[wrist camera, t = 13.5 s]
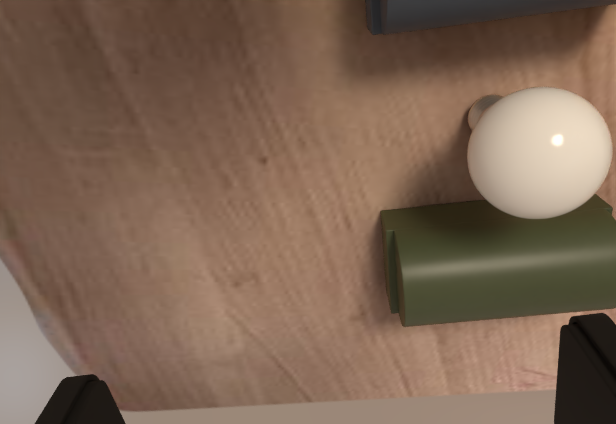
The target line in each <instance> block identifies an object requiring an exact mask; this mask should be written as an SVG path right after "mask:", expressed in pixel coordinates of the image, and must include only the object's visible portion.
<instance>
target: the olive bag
mask: <svg viewBox="0 0 616 424" xmlns="http://www.w3.org/2000/svg"><path fill="white" fill-rule="evenodd" d="M612 209H613V208H612V207H611V206H610V205H609V204H608V203H606V202H605V201H604V200H603V199H601V198H600V197H599V196H597V195H596V194H594V195H593V196H592V197H591V198H590V199H589V200H588V201H587V202H586V203H584V204H583V205H581V206H580V207H578V208H577V209H575V210H573V211H571V212H569V213H566V214H564V215H561V216H557V217H553V218H548V219H525V218H519V217H515V216H512V215H509V214H507V213H505V212H503V211H501V210H499V209H497V208H496V207H494V206H493V205H491V204H490V203H489V202H488V201H487V200H479V201H469V202H460V203H450V204H441V205H431V206H422V207H412V208H403V209H393V210H384V211H381V225H382V239H383V253H384V266H385V280H386V291H387V296H388V300H389V305H390V310H391V313H399V317H400V321H401V324H402V326H403V327H409V326H421V325H432V324H443V323H455V322H466V321H478V320H489V319H501V318H512V317H524V316H535V315H546V314H558V313H569V312H581V311H592V310H604V309H613V308H616V220H615V219H614V218H613V216H612Z"/></svg>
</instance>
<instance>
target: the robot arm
mask: <svg viewBox="0 0 616 424" xmlns="http://www.w3.org/2000/svg"><path fill="white" fill-rule="evenodd" d="M35 424H125V422H124V419H123V417H122V415H121V413H120V411H119V409H118V407H117V405H116V403H115V401H114V399H113V397H112V395H111V392H110V390H109V388H108V386H107V384H106V383H105V382H104V381H103V380H99V379H98V377H97V376H95V375H94V374H90V375H82V376H74V377H66V378H65V379H63V380H62V381H61V383H60V384H59V386H58V387H57V389H56V390H55V392H54V393H53V395H52V397H51V398H50V400H49V401H48V403H47V405H46V407H45V408H44V410H43V411H42V413H41V414H40V416H39V418H38V419H37V421H36V423H35ZM554 424H616V325H615V323H614V322H613V321H612V320H611V319H610V317H608V316H607V315H606V314H604V313H597V314H589V315H580V316H573V317H571V318H570V320H569V325H563V326H562V327H561V331H560V345H559V359H558V373H557V387H556V401H555V415H554Z"/></svg>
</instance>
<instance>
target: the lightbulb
mask: <svg viewBox="0 0 616 424" xmlns="http://www.w3.org/2000/svg"><path fill="white" fill-rule="evenodd" d="M468 124H469V127H470V128H471V130H472V133H471V136H470V139H469V143H468V149H467V163H468V169H469V173H470V176H471V179H472V181H473V183H474V185H475V187H476V188H477V190H478V191H479V193H480V194H481V195H482V196H483V197H484V198H485V199H486V200H487V201H488V202H489V203H490V204H491V205H493V206H494V207H496V208H497V209H499V210H501V211H503V212H505V213H507V214H509V215H512V216H515V217H519V218H525V219H548V218H553V217H557V216H561V215H564V214H566V213H569V212H571V211H573V210H575V209H577V208H578V207H580V206H581V205H583V204H584V203H586V202H587V201H588V200H589V199H590V198H591V197H592V196H593V195H594V194H595V193H596V192H597V191H598V190H599V188H600V187H601V185H602V184H603V182H604V180H605V179H606V177H607V174H608V172H609V169H610V166H611V161H612V154H613V146H612V138H611V134H610V131H609V128H608V126H607V123H606V121H605V120H604V118H603V117H602V115H601V114H600V112H599V111H598V110H597V109H596V108H595V107H594V106H593V105H592V104H591V103H590V102H588V101H587V100H586V99H584V98H583V97H581V96H579V95H577V94H575V93H573V92H571V91H568V90H564V89H561V88H555V87H531V88H526V89H522V90H519V91H516V92H513V93H511V94H509V95H507V96H505V97H502V96H500V95H494V94H493V95H487V96H484V97H482V98H480V99H478V100H477V101H476V102H475V103H474V104H473V106H472V107H471V109H470V111H469V114H468Z"/></svg>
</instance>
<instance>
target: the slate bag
mask: <svg viewBox="0 0 616 424" xmlns="http://www.w3.org/2000/svg"><path fill="white" fill-rule="evenodd" d="M365 3H366V17H367V28H368V30H369V31H370V32H371V33H372V34H373V35H376V34H383V35H386V34H394V33H401V32H409V31H416V30H424V29H431V28H439V27H446V26H454V25H462V24H469V23H477V22H484V21H492V20H499V19H507V18H514V17H522V16H529V15H537V14H545V13H552V12H560V11H567V10H575V9H582V8H590V7H597V6H605V5H613V4H616V0H365Z"/></svg>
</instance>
